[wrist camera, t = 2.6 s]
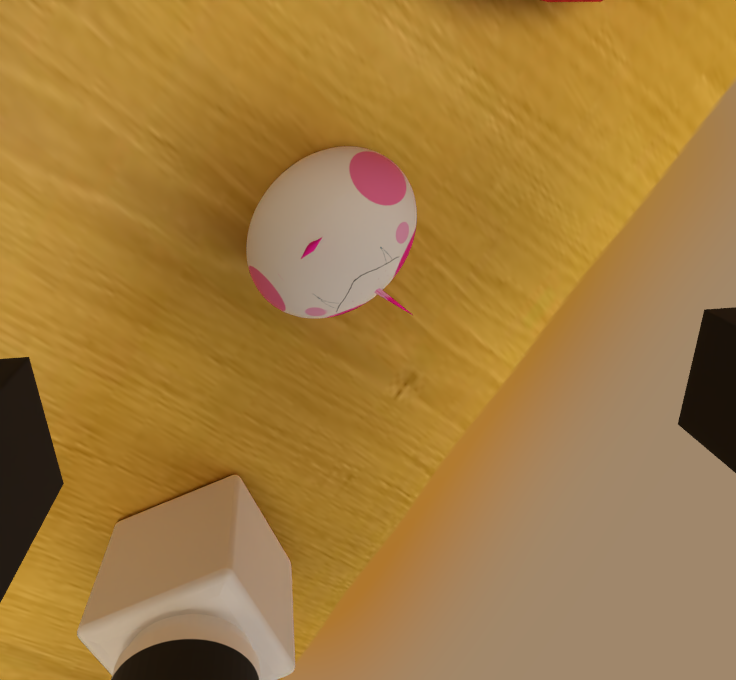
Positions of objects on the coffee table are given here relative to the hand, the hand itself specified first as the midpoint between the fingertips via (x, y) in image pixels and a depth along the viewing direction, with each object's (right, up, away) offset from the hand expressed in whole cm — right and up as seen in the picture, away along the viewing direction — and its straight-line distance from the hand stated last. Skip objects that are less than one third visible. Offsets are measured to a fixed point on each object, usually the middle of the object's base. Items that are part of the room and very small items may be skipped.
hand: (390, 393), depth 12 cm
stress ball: (-1, +3, +9) cm, 9 cm away
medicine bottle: (-9, -10, +21) cm, 25 cm away
